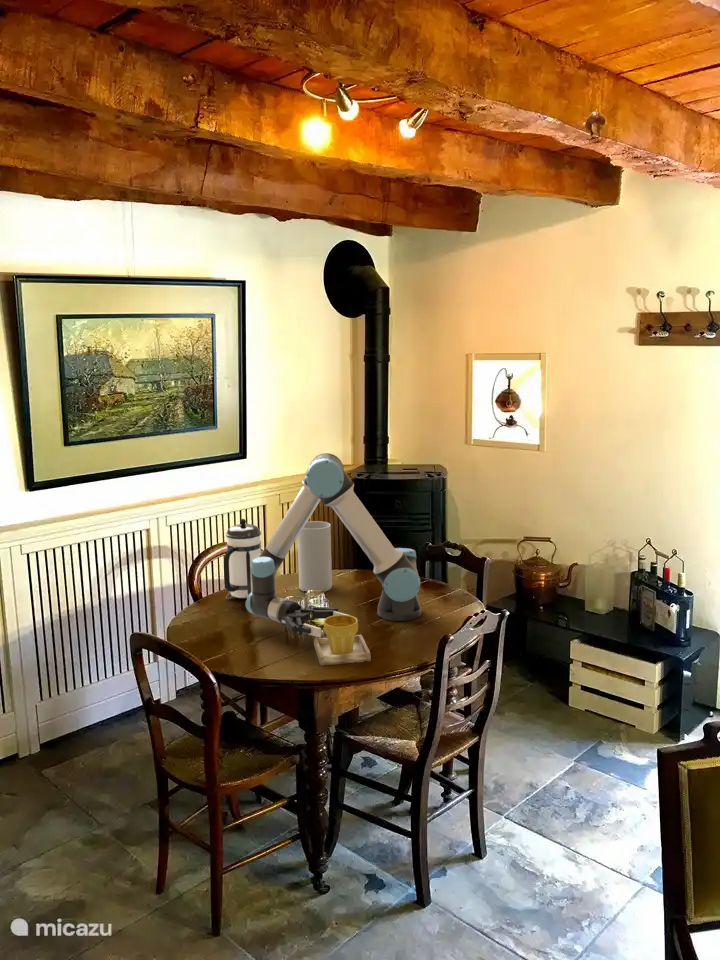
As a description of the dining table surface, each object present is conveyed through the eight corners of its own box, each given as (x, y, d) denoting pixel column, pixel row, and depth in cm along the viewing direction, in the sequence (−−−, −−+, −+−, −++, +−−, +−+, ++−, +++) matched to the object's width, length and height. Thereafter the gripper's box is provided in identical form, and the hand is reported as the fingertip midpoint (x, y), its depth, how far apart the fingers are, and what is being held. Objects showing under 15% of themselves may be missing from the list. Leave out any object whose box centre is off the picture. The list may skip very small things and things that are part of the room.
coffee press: (220, 593, 293) (217, 516, 287) (262, 589, 297) (260, 513, 292) (226, 608, 276) (222, 526, 271) (270, 603, 281) (267, 523, 275)
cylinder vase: (331, 582, 304) (330, 520, 299) (332, 593, 291) (330, 528, 287) (299, 583, 303) (297, 521, 299) (299, 594, 291) (297, 529, 286)
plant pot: (328, 659, 229) (328, 628, 227) (321, 646, 239) (320, 616, 237) (362, 655, 232) (362, 624, 230) (353, 642, 241) (352, 612, 240)
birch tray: (361, 642, 244) (361, 634, 243) (370, 661, 229) (370, 653, 229) (314, 646, 241) (313, 638, 241) (320, 665, 227) (320, 657, 226)
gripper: (312, 611, 258) (361, 626, 245) (257, 634, 239) (307, 650, 226) (311, 590, 257) (361, 603, 244) (256, 611, 238) (306, 626, 225)
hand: (335, 626), depth 235 cm, fingers open, 13 cm apart
